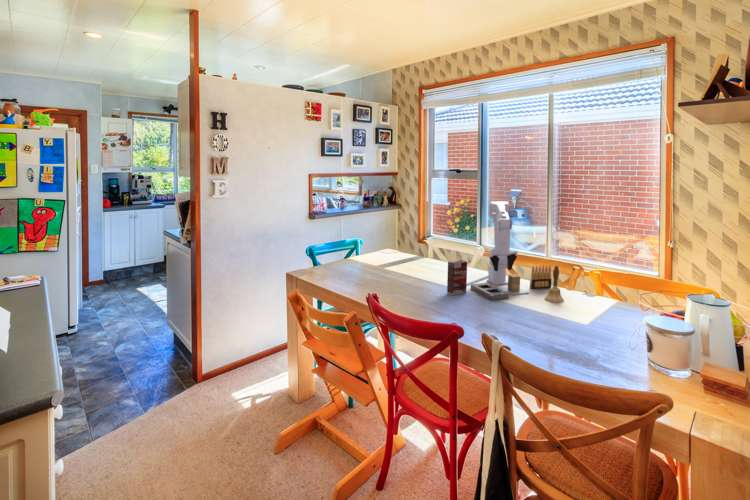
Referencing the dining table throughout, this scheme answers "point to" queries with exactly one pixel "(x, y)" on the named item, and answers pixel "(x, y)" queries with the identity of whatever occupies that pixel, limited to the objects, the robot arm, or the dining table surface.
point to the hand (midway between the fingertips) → (502, 270)
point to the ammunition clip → (540, 278)
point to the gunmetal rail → (489, 291)
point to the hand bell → (554, 289)
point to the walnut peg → (513, 283)
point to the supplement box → (457, 277)
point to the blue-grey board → (515, 292)
